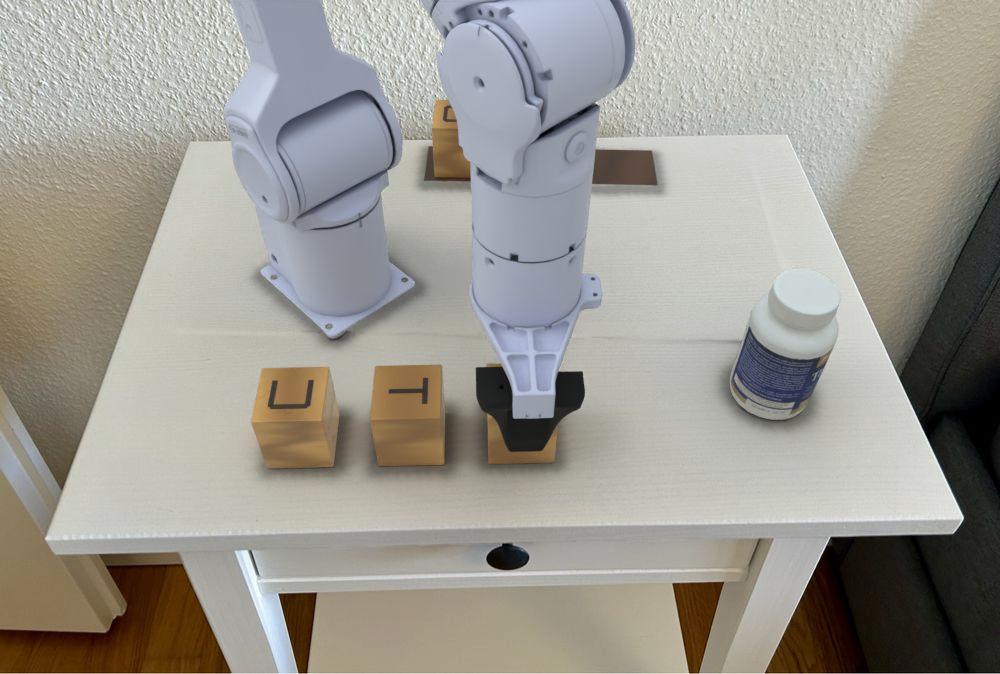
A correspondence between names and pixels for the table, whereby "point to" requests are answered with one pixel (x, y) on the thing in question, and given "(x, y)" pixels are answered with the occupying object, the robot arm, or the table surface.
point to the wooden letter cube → (503, 456)
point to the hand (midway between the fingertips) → (522, 394)
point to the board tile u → (447, 144)
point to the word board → (595, 168)
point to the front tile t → (408, 415)
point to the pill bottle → (786, 345)
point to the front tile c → (296, 417)
